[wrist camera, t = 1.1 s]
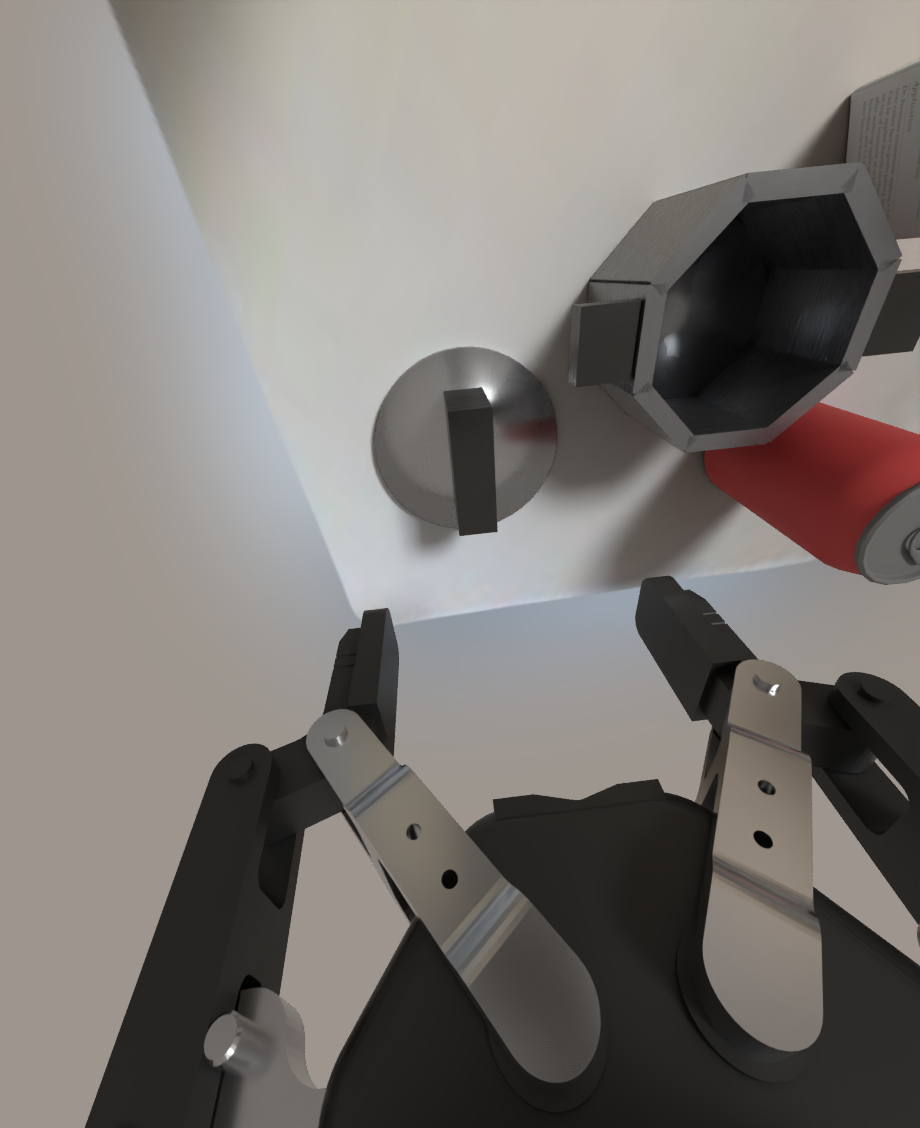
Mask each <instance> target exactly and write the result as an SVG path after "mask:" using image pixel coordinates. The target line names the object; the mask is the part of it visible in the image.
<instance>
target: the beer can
mask: <svg viewBox="0 0 920 1128" xmlns="http://www.w3.org/2000/svg"><path fill="white" fill-rule="evenodd" d="M704 462H705V471H706V473H707V475H708V477H709V479H710V481H711V482H712V483H713V484H715V485H716V486H717V487H718V488H720V489H721V490H723V491H724V492H725V493H727V494H728V495H729V496H731V497H732V498H734V499H735V500H736V501H738V502H739V503H741V504H742V505H743V506H745V507H746V508H748V509H749V510H750V511H752V512H753V513H755V514H756V515H757V516H759V517H760V518H762V519H763V520H764V521H766V522H767V523H769V524H770V525H771V526H773V527H774V528H775V529H777V530H778V531H780V532H781V533H782V534H784V535H785V536H787V537H788V538H789V539H791V540H792V541H794V542H795V543H796V544H798V545H799V546H801V547H802V548H803V549H805V550H806V551H808V552H809V553H810V554H812V555H813V556H815V557H816V558H817V559H819V560H820V561H822V562H823V563H824V564H827V565H829V566H831V567H834V568H836V569H839V570H843V571H847V572H851V573H855V574H859V575H863V576H864V577H865V578H866V579H868V580H869V581H871V582H875V583H879V584H884V585H888V584H899V583H907V582H910V581H914V580H917V579H920V435H919V434H916V433H913V432H910V431H907V430H903V429H900V428H897V427H894V426H891V425H888V424H885V423H882V422H879V421H876V420H872V419H869V418H866V417H863V416H860V415H857V414H854V413H851V412H848V411H845V410H841V409H838V408H835V407H832V406H829V405H826V404H823V403H820V402H818V403H817V404H816V405H815V406H813V407H812V408H811V409H810V410H809V411H807V412H806V413H805V414H804V415H803V416H801V417H800V418H799V419H798V420H797V421H795V422H794V423H793V424H792V425H790V426H789V427H788V428H787V429H786V430H784V431H783V432H782V433H781V434H780V435H778V436H777V437H776V438H775V439H774V440H772V441H771V442H768V443H767V444H761V445H752V446H743V447H734V448H725V449H715V450H706V451H705V454H704Z"/></svg>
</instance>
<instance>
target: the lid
mask: <svg viewBox="0 0 920 1128" xmlns="http://www.w3.org/2000/svg"><path fill="white" fill-rule="evenodd" d="M556 444H557V425H556V419H555V414H554V411H553V407H552V404H551V402H550V400H549V397H548V395H547V393H546V391H545V390H544V388H543V387H542V385H541V384H540V382H539V381H538V380H537V379H536V378H535V377H534V375H533V374H532V373H531V372H530V371H529V370H527V369H526V368H525V367H524V366H523V365H521V364H520V363H519V362H517V361H516V360H514V359H512V358H511V357H509V356H507V355H504V354H502V353H500V352H498V351H494V350H490V349H486V348H480V347H456V348H451V349H445V350H442V351H439V352H436V353H433V354H431V355H429V356H427V357H425V358H423V359H421V360H420V361H418V362H417V363H415V364H414V365H412V366H411V367H410V368H409V369H408V370H406V371H405V372H404V373H403V374H402V375H401V376H400V377H399V378H398V380H397V381H396V382H395V383H394V385H393V386H392V387H391V389H390V391H389V392H388V394H387V396H386V397H385V400H384V402H383V404H382V407H381V409H380V412H379V416H378V420H377V423H376V431H375V452H376V459H377V463H378V466H379V470H380V472H381V475H382V477H383V480H384V482H385V483H386V485H387V487H388V488H389V490H390V491H391V493H392V494H393V495H394V497H395V498H396V499H397V500H398V501H399V502H400V503H401V504H402V505H403V506H404V507H405V508H406V509H408V510H409V511H410V512H412V513H413V514H415V515H416V516H418V517H420V518H421V519H424V520H426V521H428V522H431V523H433V524H437V525H440V526H445V527H450V528H458V529H459V535H460V536H464V535H473V534H482V533H491V532H497V522H498V521H500V520H502V519H505V518H506V517H508V516H510V515H512V514H513V513H515V512H516V511H518V510H519V509H520V508H522V507H523V506H524V505H525V504H526V503H527V502H529V501H530V500H531V498H532V497H533V496H534V495H535V494H536V493H537V492H538V490H539V489H540V487H541V486H542V484H543V483H544V481H545V479H546V477H547V475H548V474H549V471H550V469H551V466H552V463H553V460H554V456H555V452H556Z"/></svg>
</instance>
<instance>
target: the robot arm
mask: <svg viewBox="0 0 920 1128" xmlns="http://www.w3.org/2000/svg"><path fill="white" fill-rule="evenodd" d="M635 620H636V627H637V630H638V633H639V635H640V637H641V638H642V640H643V642H644V643H645V645H646V646H647V648H648V650H649V651H650V653H651V655H652V656H653V658H654V660H655V661H656V663H657V665H658V666H659V668H660V669H661V671H662V673H663V674H664V676H665V677H666V679H667V681H668V683H669V684H670V686H671V687H672V689H673V691H674V692H675V694H676V696H677V697H678V699H679V700H680V702H681V704H682V705H683V707H684V709H685V710H686V712H687V714H688V715H689V717H690V718H691V720H692V721H698V720H707V719H708V720H709V722H710V723H711V725H712V729H711V731H710V735H709V740H708V745H707V751H706V756H705V761H704V766H703V772H702V777H701V782H700V787H699V791H698V794H697V798H696V801H695V802H693V801H691V800H689V799H686V798H683V797H681V796H678V795H674V794H670V793H664V791H663V789H662V787H661V785H660V783H659V781H658V779H655V780H646V781H638V782H630V783H622V784H616V785H614V786H612V787H610V788H607V789H605V790H603V791H600V792H598V793H596V794H594V795H591V796H589V797H587V798H584V799H582V800H569V799H563V798H555V797H548V796H541V795H526V796H518V797H509V798H502V799H493V805H494V812H493V813H491V814H488V815H486V816H484V817H483V818H481V819H480V820H478V821H476V822H475V823H474V824H473V825H472V826H470V827H469V828H468V829H467V830H466V831H464V830H463V829H462V828H461V827H460V825H459V824H458V823H457V822H456V821H455V820H454V818H453V817H452V816H451V815H450V814H449V812H448V811H447V810H446V809H445V808H444V807H443V805H442V804H441V803H440V802H439V801H438V800H437V798H436V797H435V796H434V795H433V794H432V793H431V791H430V790H429V789H428V788H427V787H426V786H425V784H424V783H423V782H422V781H421V780H420V779H419V777H418V776H417V775H416V774H415V773H414V772H413V771H412V770H411V768H409V767H408V766H407V765H403V766H401V765H400V764H399V763H398V762H397V761H396V760H395V759H394V742H395V740H394V739H395V723H396V705H397V688H398V670H399V652H398V645H397V640H396V636H395V632H394V627H393V623H392V619H391V615H390V611H389V609H388V608H384V609H375V610H367V611H364V613H363V618H362V624H361V628H355V629H348V631H347V632H346V634H345V635H344V636H343V638H342V639H341V640H340V642H339V646H338V650H337V655H336V657H337V658H336V659H335V664H334V670H333V673H332V677H331V682H330V686H329V691H328V695H327V700H326V704H325V709H324V713H323V716H321V717H320V718H319V719H318V720H317V721H316V722H315V723H314V724H313V725H312V726H311V728H310V730H309V732H308V734H307V735H305V736H304V737H302V738H301V739H299V740H297V741H295V742H292V743H290V744H287V745H285V746H283V747H280V748H278V749H275V750H273V751H269V749H268V748H267V747H265V746H264V745H261V744H247V745H244V746H241V747H239V748H237V749H235V750H233V751H231V752H230V753H229V754H227V755H226V756H225V757H224V758H223V759H222V760H221V761H220V762H219V763H218V764H217V766H216V767H215V769H214V771H213V772H212V775H211V777H210V780H209V783H208V786H207V788H206V791H205V794H204V797H203V800H202V802H201V805H200V808H199V811H198V814H197V816H196V819H195V822H194V824H193V828H192V830H191V833H190V836H189V838H188V841H187V844H186V847H185V850H184V853H183V855H182V858H181V861H180V864H179V866H178V869H177V872H176V875H175V877H174V880H173V883H172V886H171V889H170V892H169V895H168V897H167V900H166V903H165V906H164V908H163V911H162V914H161V917H160V919H159V922H158V925H157V928H156V931H155V933H154V936H153V939H152V942H151V945H150V947H149V950H148V953H147V956H146V958H145V962H144V964H143V967H142V970H141V972H140V975H139V978H138V981H137V984H136V986H135V989H134V992H133V995H132V997H131V1000H130V1003H129V1006H128V1009H127V1011H126V1014H125V1017H124V1020H123V1023H122V1025H121V1028H120V1031H119V1034H118V1037H117V1039H116V1042H115V1045H114V1048H113V1050H112V1053H111V1056H110V1059H109V1062H108V1064H107V1067H106V1070H105V1073H104V1076H103V1078H102V1081H101V1084H100V1087H99V1089H98V1092H97V1095H96V1098H95V1101H94V1104H93V1106H92V1109H91V1112H90V1115H89V1117H88V1120H87V1123H86V1126H85V1128H920V966H919V965H918V964H917V963H915V962H914V961H913V960H911V959H910V958H909V957H907V956H906V955H904V954H903V953H901V952H900V951H899V950H897V949H896V948H895V947H894V946H892V945H891V944H890V943H888V942H887V941H886V940H884V939H883V938H882V937H880V936H879V935H877V934H876V933H875V932H873V931H872V930H871V929H870V928H868V927H867V926H865V925H864V924H863V923H861V922H860V921H859V920H857V919H856V918H855V917H853V916H852V915H851V914H849V913H848V912H846V911H845V910H844V909H842V908H841V907H840V906H839V905H837V904H836V903H834V902H833V901H832V900H830V899H829V898H828V897H826V896H825V895H824V894H822V893H821V892H820V891H818V890H817V889H816V888H814V887H813V849H812V848H813V846H812V777H813V778H814V779H815V781H816V782H817V784H818V785H819V786H820V788H821V789H822V790H823V792H824V793H825V795H826V796H827V798H828V799H829V800H830V802H831V803H832V805H833V806H834V807H835V809H836V810H837V812H838V813H839V814H840V816H841V817H842V818H843V820H844V821H845V823H846V824H847V825H848V827H849V828H850V830H851V831H852V833H853V834H854V835H855V837H856V838H857V840H858V841H859V842H860V844H861V845H862V847H863V848H864V849H865V851H866V852H867V853H868V855H869V856H870V858H871V859H872V861H873V862H874V863H875V865H876V866H877V867H878V869H879V870H880V872H881V873H882V875H883V876H884V877H885V879H886V880H887V882H888V883H889V884H890V886H891V887H892V889H893V890H894V891H895V893H896V894H897V896H898V897H899V898H900V899H901V901H902V902H903V904H904V905H905V907H906V908H907V909H908V911H909V912H910V914H911V915H912V917H913V918H914V919H915V921H916V922H917V924H918V925H919V926H918V930H917V939H918V943H919V947H920V707H919V706H918V705H917V704H916V703H915V702H914V701H913V700H912V699H910V697H909V696H907V694H905V693H904V692H903V691H902V690H901V689H900V688H898V687H897V686H895V685H894V684H892V683H890V682H888V681H886V680H884V679H882V678H880V677H877V676H874V675H871V674H866V673H861V672H850V673H845V674H843V675H841V676H840V677H839V679H838V680H837V682H836V683H835V685H827V684H820V683H813V682H805V681H799V680H797V679H796V678H795V677H794V676H793V675H792V674H791V673H790V672H788V671H787V670H786V669H784V668H782V667H781V666H778V665H776V664H774V663H771V662H768V661H764V660H758V659H757V658H756V656H755V655H754V654H753V653H752V652H751V651H750V650H749V648H747V646H746V645H745V644H744V643H743V642H742V640H741V639H740V638H739V637H738V636H737V635H736V634H735V632H734V631H733V630H732V629H731V628H730V627H729V626H728V624H725V621H724V620H723V619H722V618H721V617H720V615H719V614H716V611H715V610H714V609H713V607H712V606H711V605H710V604H709V603H708V602H707V601H706V600H705V599H704V598H702V597H701V596H699V595H697V594H696V593H694V592H693V591H691V590H683V589H682V588H681V587H680V586H679V584H678V583H677V582H676V581H675V579H674V578H673V577H671V576H662V577H653V578H646V579H644V580H643V582H642V585H641V590H640V595H639V600H638V605H637V610H636V616H635ZM876 758H878V759H879V761H880V762H881V763H882V764H883V765H884V766H885V768H886V769H887V770H888V771H889V772H890V773H891V774H892V775H893V777H894V778H895V779H896V780H897V781H898V782H899V783H900V785H901V786H902V787H903V789H904V790H905V792H906V794H907V796H908V799H909V801H908V800H907V799H906V798H905V797H904V796H903V794H902V793H901V792H900V791H899V790H898V788H897V787H896V786H895V785H894V784H893V783H892V781H891V780H890V779H889V778H888V777H887V776H886V774H885V773H884V772H883V771H882V770H881V769H880V768H879V766H878V765H877V764H876V763H875V762H874V761H875V760H876ZM339 812H340V813H341V814H342V816H343V817H344V819H345V820H346V822H347V824H348V825H349V827H350V828H351V830H352V832H353V833H354V835H355V836H356V838H357V839H358V841H359V843H360V844H361V846H362V847H363V849H364V851H365V852H366V854H367V855H368V856H369V858H370V860H371V862H372V863H373V865H374V866H375V868H376V870H377V871H378V873H379V875H380V877H381V879H382V880H383V882H384V884H385V886H386V887H387V889H388V890H389V892H390V894H391V895H392V897H393V898H394V900H395V902H396V903H397V905H398V906H399V908H400V910H401V911H402V913H403V914H404V916H405V918H406V919H407V921H408V922H409V924H410V926H409V928H408V930H407V931H406V933H405V935H404V937H403V939H402V941H401V943H400V944H399V946H398V948H397V950H396V952H395V953H394V955H393V957H392V959H391V961H390V963H389V964H388V967H387V968H386V970H385V972H384V974H383V976H382V977H381V979H380V981H379V983H378V985H377V986H376V988H375V990H374V992H373V994H372V996H371V997H370V999H369V1001H368V1003H367V1005H366V1006H365V1008H364V1010H363V1012H362V1014H361V1016H360V1017H359V1019H358V1021H357V1023H356V1025H355V1027H354V1028H353V1030H352V1032H351V1034H350V1036H349V1037H348V1039H347V1041H346V1043H345V1045H344V1047H343V1049H342V1050H341V1052H340V1054H339V1056H338V1059H337V1061H336V1063H335V1066H334V1068H333V1071H332V1073H331V1076H330V1079H329V1082H328V1085H327V1088H324V1089H318V1088H317V1087H316V1086H315V1085H314V1083H313V1082H312V1080H311V1078H310V1076H309V1074H308V1070H307V1066H306V1061H305V1032H304V1026H303V1022H302V1019H301V1017H300V1015H299V1013H298V1012H297V1010H296V1009H295V1008H294V1007H293V1006H291V1005H290V1004H289V1003H287V1002H286V1001H285V1000H283V999H282V998H281V997H279V994H280V988H281V981H282V975H283V968H284V962H285V954H286V948H287V942H288V935H289V928H290V922H291V915H292V909H293V902H294V896H295V890H296V883H297V877H298V870H299V864H300V857H301V851H302V844H303V837H304V831H305V829H306V828H308V827H310V826H312V825H314V824H316V823H318V822H320V821H322V820H324V819H326V818H329V817H331V816H332V815H335V814H337V813H339Z"/></svg>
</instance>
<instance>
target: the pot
mask: <svg viewBox="0 0 920 1128" xmlns="http://www.w3.org/2000/svg"><path fill="white" fill-rule="evenodd" d="M901 256H902V254H901V251H900V249H899V246H898V244H897V242H896V239H895V237H894V234H893V232H892V230H891V227H890V225H889V222H888V220H887V217H886V215H885V213H884V210H883V208H882V205H881V203H880V201H879V198H878V196H877V193H876V191H875V188H874V186H873V184H872V181H871V179H870V176H869V174H868V172H867V169H866V167H865V164H861V162H855V163H845V164H835V165H824V166H814V167H804V168H794V169H784V170H774V171H763V172H753V173H747V174H743V175H740V176H737V177H734V178H730V179H727V180H724V181H720V182H717V183H714V184H711V185H707V186H704V187H701V188H698V189H694V190H691V191H688V192H684V193H681V194H678V195H675V196H671V197H668V198H665V199H662V200H658V201H656V202H654V203H653V204H652V205H651V206H650V207H649V208H648V210H647V211H646V212H645V213H644V214H643V216H642V217H641V218H640V219H639V220H638V222H637V223H636V224H635V225H634V227H633V228H632V229H631V230H630V231H629V233H628V234H627V235H626V236H625V237H624V239H623V240H622V241H621V242H620V243H619V245H618V246H617V247H616V248H615V249H614V251H613V252H612V253H611V254H610V255H609V257H608V258H607V259H606V260H605V261H604V263H603V264H602V265H601V266H600V268H599V269H598V270H597V271H596V272H595V274H594V275H593V276H592V277H591V278H590V280H591V281H592V282H589V284H588V298H587V303H584V304H574V305H572V317H571V334H570V351H569V369H568V382H570V383H571V384H572V385H574V386H575V387H579V386H589V385H598V384H599V385H600V386H601V387H602V388H603V390H604V391H605V392H606V393H607V394H608V395H609V396H610V397H611V398H612V399H613V400H614V401H615V402H616V404H617V405H618V406H619V407H620V408H621V409H622V410H623V411H624V412H625V413H626V414H628V415H629V416H631V417H632V418H634V419H635V420H636V421H638V422H639V423H641V424H642V425H644V426H645V427H647V428H648V429H650V430H651V431H653V432H654V433H656V434H657V435H659V436H660V437H661V438H663V439H664V440H666V441H667V442H669V443H670V444H672V445H673V446H675V447H676V448H678V449H679V450H681V451H682V452H685V453H688V452H697V451H706V450H715V449H725V448H734V447H743V446H752V445H761V444H767V443H768V442H771V441H772V440H774V439H775V438H776V437H777V436H778V435H780V434H781V433H782V432H783V431H784V430H786V429H787V428H788V427H789V426H790V425H792V424H793V423H794V422H795V421H797V420H798V419H799V418H800V417H801V416H803V415H804V414H805V413H806V412H807V411H809V410H810V409H811V408H812V407H813V406H815V405H816V404H817V403H818V402H819V401H821V400H822V399H823V398H824V397H825V396H827V395H828V394H829V393H830V392H831V391H833V390H834V389H835V388H836V387H838V386H839V385H840V384H841V383H842V382H844V381H845V380H846V379H847V378H848V377H850V376H851V375H852V374H853V371H852V370H856V369H857V366H858V364H859V361H860V359H861V357H862V356H871V355H880V354H890V353H899V352H909V351H913V349H914V347H915V345H916V343H917V341H918V339H919V337H920V269H914V270H904V271H897V270H898V267H899V265H900V262H901V260H902V259H899V258H900V257H901Z"/></svg>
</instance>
